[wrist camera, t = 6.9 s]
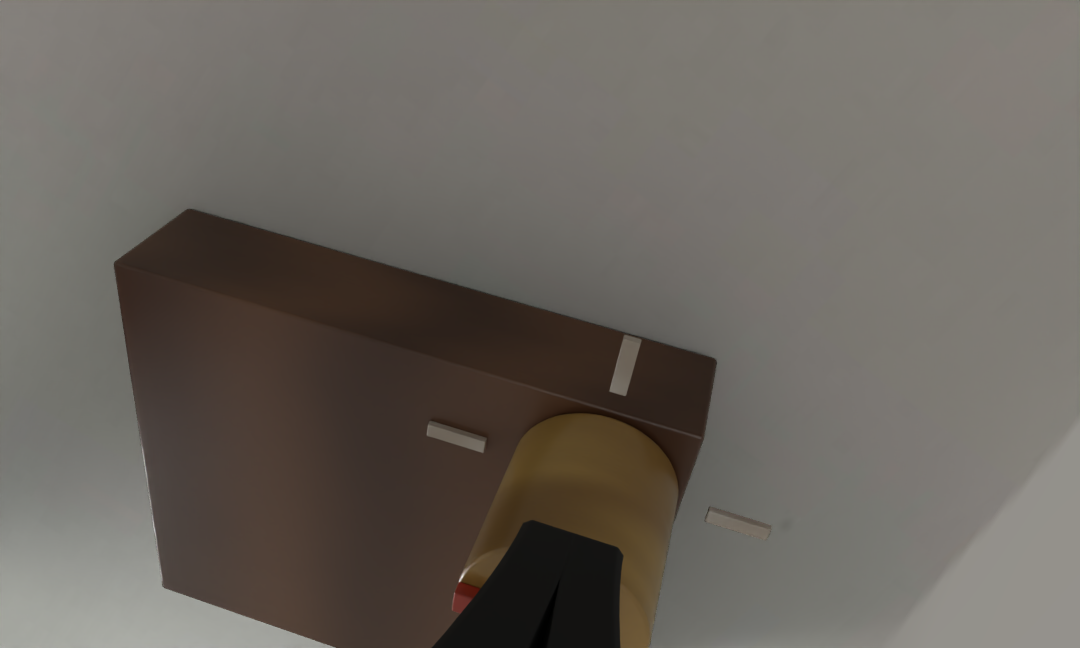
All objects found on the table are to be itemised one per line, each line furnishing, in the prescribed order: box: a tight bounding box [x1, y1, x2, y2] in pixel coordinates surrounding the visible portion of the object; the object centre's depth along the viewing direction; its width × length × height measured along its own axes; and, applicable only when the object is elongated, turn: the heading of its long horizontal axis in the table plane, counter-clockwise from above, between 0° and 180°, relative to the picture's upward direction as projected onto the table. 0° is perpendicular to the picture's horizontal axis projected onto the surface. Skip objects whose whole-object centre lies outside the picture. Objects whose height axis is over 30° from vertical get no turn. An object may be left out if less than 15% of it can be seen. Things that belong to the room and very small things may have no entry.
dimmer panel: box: [114, 209, 772, 648], centre depth 23 cm, size 16×14×3 cm
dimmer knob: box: [452, 413, 679, 648], centre depth 18 cm, size 4×4×4 cm
